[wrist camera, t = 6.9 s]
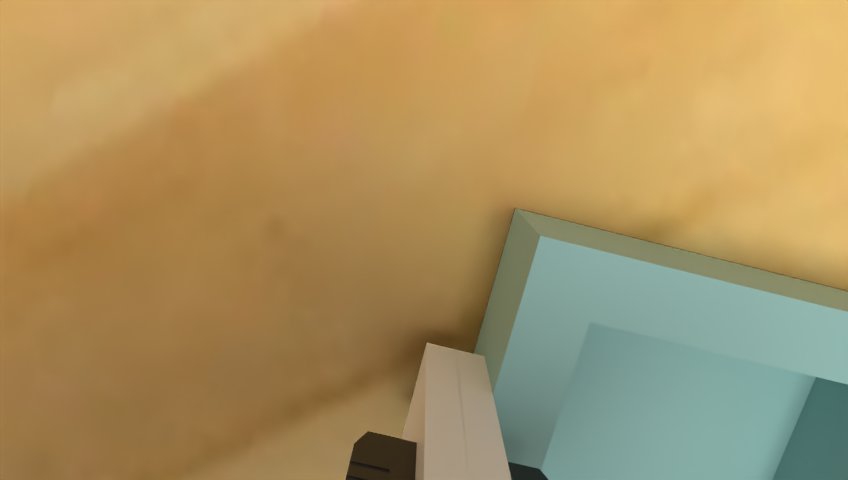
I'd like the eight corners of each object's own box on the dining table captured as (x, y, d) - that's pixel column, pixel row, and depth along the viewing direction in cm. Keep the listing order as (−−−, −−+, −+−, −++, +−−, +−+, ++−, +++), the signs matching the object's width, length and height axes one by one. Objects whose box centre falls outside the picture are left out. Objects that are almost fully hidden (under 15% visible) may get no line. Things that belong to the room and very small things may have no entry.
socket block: (422, 532, 17) (420, 637, 14) (515, 208, 15) (540, 235, 12) (742, 604, 17) (819, 723, 14) (876, 298, 15) (1004, 350, 12)
